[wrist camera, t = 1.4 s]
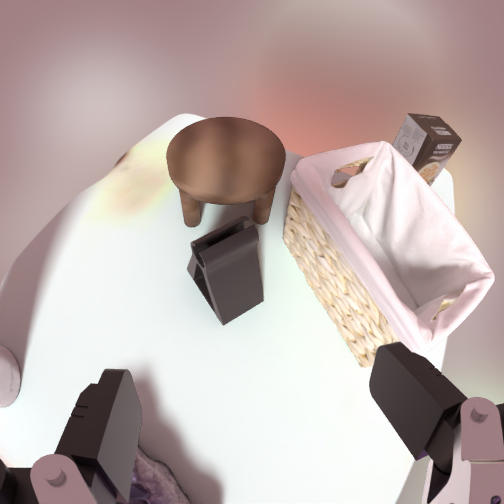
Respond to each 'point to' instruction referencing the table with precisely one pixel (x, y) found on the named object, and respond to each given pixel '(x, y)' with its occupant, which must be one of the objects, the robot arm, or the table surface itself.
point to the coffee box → (426, 144)
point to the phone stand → (228, 269)
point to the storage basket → (382, 250)
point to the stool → (225, 165)
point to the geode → (154, 483)
